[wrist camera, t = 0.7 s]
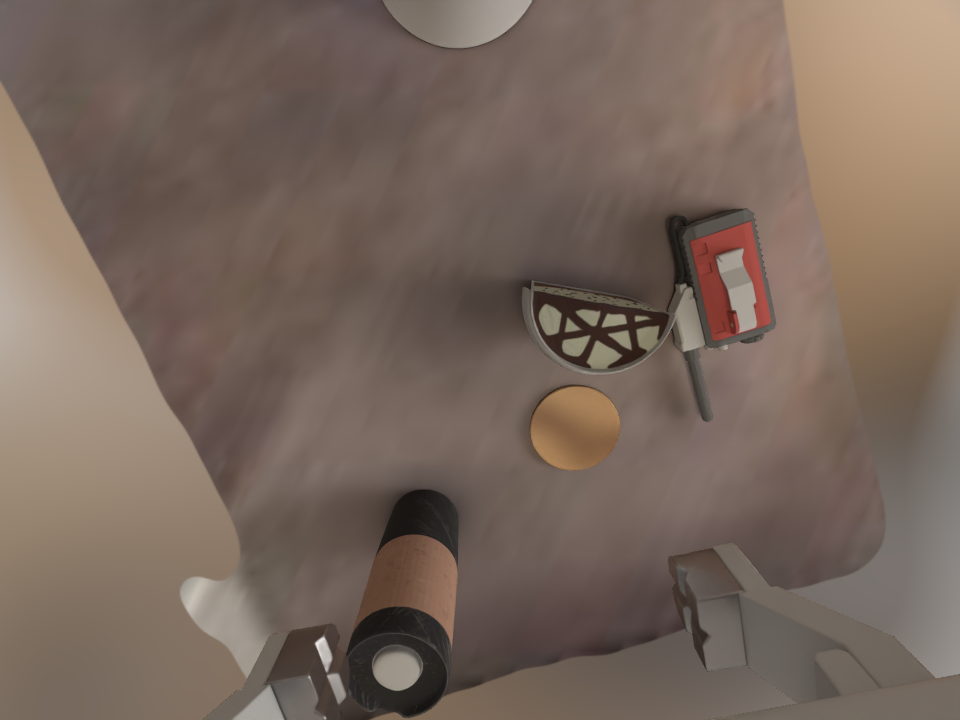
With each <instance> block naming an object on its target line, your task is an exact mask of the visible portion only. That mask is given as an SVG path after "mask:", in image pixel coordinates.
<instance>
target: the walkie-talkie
mask: <svg viewBox="0 0 960 720" xmlns="http://www.w3.org/2000/svg"><path fill="white" fill-rule="evenodd" d="M677 220H681V221H682V223H683V226H682V227H679V228H677V229H676V231H675V223H676V221H677ZM755 221H756V220H755V219H754V213H753V212H751V211H750V210H748V209H747V208H745V209H732V210H729V211H726V212H723V213H720V214H717V215H714V216H711V217H709V218H706V219H703V220H700V221H697V222H694V223H691V224H689V222H688V220H687V219H686V217H684V216H675V217H673V218H672V219H671V221H670V223H669V231H670V235H671V239H672V243H673V247H674V252H675V256H676V260H677V264H678V269H679V275H678V283H677V284H675V286H676V291H675V294H674V296H673V299H672V301H671V303H670V306H669V308H668V312H669V313H672V312H673V313H675V314H676V315H677V316H676V319H675V321H674V324H673V327H672V328H673V332H674V336H675V340H674V343H675V346H676V348H677V349H678V350H680V351H681V352H684V354H685V358H686V360H687V361H688V364H689V368H690V372H691V376H692V380H693V384H694V388H695V392H696V396H697V400H698V404H699V408H700V412H701V416H702V419H703V420H704V421H705V422H710V421H711V420H712V419H713V415H712V410H711V406H710V402H709V398H708V394H707V390H706V385H705V381H704V377H703V373H702V369H701V365H700V361H699V358H700V354H699V350H698V347H701V346H705V349H706V350H711V349H714V348H718V350H725V349H727V348H728V346H727V345H728V344H731V343H735V342H738V341H740V342H742V343H754V342H758V341H760V340H762V339H763V338H764V334H763V333H766V332H769V331H771V330H773V329H774V327H775V325H776V319H775V314H774V309H773V304H772V299H771V294H770V289H769V284H768V280H767V278H766V272H765V267H764V264H763V263H764V261H763V259H762V257H763V255H762V254H761V251H762V250H761V249H760V243H759V237H758V234H757V233H758V231H757V229H756V227H757V225H756V224H755Z"/></svg>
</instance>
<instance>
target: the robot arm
mask: <svg viewBox="0 0 960 720" xmlns="http://www.w3.org/2000/svg"><path fill="white" fill-rule="evenodd" d="M382 1H383V3H384V5H385V6H386V8H387V9H388V11H389V12H390V13H391V14H392V16H393V17H394V18H395V19H396V20H397V21H398V22H399V23H400V24H401V25H402V26H403V27H404V28H405V29H406V30H408V31H409V32H410V33H412V34H413V35H415V36H416V37H418V38H420V39H422V40H424V41H426V42H428V43H431V44H434V45H437V46H441V47H447V48H468V47H474V46H478V45H481V44H484V43H487V42H489V41H491V40H493V39H495V38H497V37H499V36H500V35H502V34H503V33H505V32H506V31H507V30H509V29H510V28H511V27H512V26H513V25H514V24H515V23H516V22H517V21H518V20H519V19H520V18H521V17H522V15H523V14H524V13H525V11H526V10H527V9H528V7H529V5H530V4H531V2H532V1H533V0H382ZM668 564H669V571H670V573H671V575H672V577H673V579H674V581H675V584H674V586H673V588H672V589H673V594H674V600H675V603H676V607H677V610H678V614H679V616H680V619H681V621H682V623H683V625H684V627H685V629H686V631H687V632H688V633H690V634H692V635H693V641H694V646H695V649H696V651H697V653H698V655H699V657H700V659H701V661H702V663H703V664H704V666H705V668H706V670H707V672H710V671H716V670H722V669H729V668H736V667H742V666H748V668H749V669H751V670H752V671H753V672H755V673H756V674H757V675H759V676H760V677H762V678H763V679H764V680H766V681H767V682H769V683H770V684H771V685H773V686H774V687H776V688H777V689H779V690H780V691H781V692H782V693H784V694H785V695H787V696H788V697H790V698H791V699H792V700H794V701H795V702H797V703H798V704H792V705H786V706H781V707H775V708H770V709H764V710H759V711H754V712H748V713H742V714H737V715H731V716H726V717H721V718H715V719H710V720H960V674H958V675H953V676H947V677H942V678H935V677H934V676H933V675H932V674H931V673H930V672H929V671H928V670H927V669H926V668H925V667H924V666H923V665H922V664H921V663H920V662H919V661H918V660H917V659H916V658H915V657H914V656H913V655H912V654H911V653H910V652H909V651H908V650H907V649H906V648H905V647H904V646H903V645H902V644H901V643H900V642H899V641H898V640H897V639H896V638H895V637H894V636H891V635H889V634H887V633H884V632H882V631H880V630H877V629H875V628H873V627H871V626H868V625H866V624H863V623H861V622H859V621H856V620H854V619H852V618H849V617H847V616H845V615H843V614H840V613H838V612H835V611H833V610H831V609H829V608H826V607H824V606H822V605H819V604H817V603H815V602H812V601H810V600H807V599H805V598H803V597H801V596H798V595H796V594H794V593H791V592H789V591H787V590H785V589H782V588H780V587H778V586H776V587H770V586H769V585H768V584H767V582H766V581H765V580H764V579H763V578H762V576H761V575H760V574H759V573H758V571H757V570H756V569H755V568H754V566H753V565H752V564H751V563H750V562H749V560H748V559H747V558H746V557H745V555H744V554H743V553H742V552H741V551H740V549H739V548H738V547H737V546H736V544H734V543H728V544H723V545H719V546H714V547H711V548H709V549H704V550H699V551H694V552H689V553H684V554H679V555H674V556H670V557H668ZM339 638H340V635H339V633H338V630H337V628H336V626H335V625H333V624H325V625H319V626H314V627H308V628H302V629H296V630H293V631H286V632H281V633H276V634H273V635H272V636H270V637H269V638H268V640H267V642H266V644H265V646H264V648H263V650H262V652H261V654H260V655H259V657H258V659H257V661H256V663H255V665H254V667H253V669H252V671H251V673H250V675H249V677H248V679H247V681H246V683H245V685H244V687H243V688H242V690H238V691H235V692H234V693H233V694H232V695H231V696H229V697H228V698H227V699H226V700H225V701H224V702H222V703H221V704H220V705H219V706H218V707H217V708H216V709H214V710H213V711H212V712H211V713H210V714H209V715H207V716H206V717H205V718H204V719H203V720H340V717H341V711H340V708H339V704H340V703H341V702H342V701H343V700H344V698H345V697H346V696H347V693H348V689H349V685H350V667H349V661H348V658H347V655H346V652H345V651H343V650H342V649H341V648H339V647H338V646H337V644H338V641H339Z"/></svg>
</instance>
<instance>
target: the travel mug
mask: <svg viewBox="0 0 960 720" xmlns="http://www.w3.org/2000/svg"><path fill="white" fill-rule="evenodd" d="M457 573H458V515H457V512H456V509H455V507H454V506H453V504H452V503H451V501H450V500H449V499H447V498H446V497H445V496H444V495H442V494H440V493H438V492H435V491H431V490H418V491H413V492H411V493H409V494H407V495H405V496H404V497H402V498H401V499H400V500H399V501H398V502H397V504H396V505H395V507H394V509H393V511H392V514H391V516H390V519H389V521H388V524H387V527H386V530H385V532H384V535H383V538H382V540H381V543H380V546H379V549H378V551H377V554H376V557H375V560H374V563H373V566H372V570H371V573H370V576H369V580H368V583H367V586H366V590H365V593H364V596H363V600H362V603H361V606H360V610H359V613H358V616H357V620H356V623H355V626H354V630H353V633H352V636H351V640H350V643H349V646H348V650H347V653H346V655H347V658H348V661H349V667H350V685H349V689H348V694H349V695H350V697H351V698H352V699H353V700H354V701H355V702H356V704H358V705H359V706H360V707H361V708H363V709H364V710H366V711H368V712H373V711H375V710H387V711H392V712H396V713H398V714H400V715H401V716H402V717H403V718H411V717H415V716H418V715H421V714H423V713H425V712H427V711H428V710H430V709H431V708H432V707H434V706H435V705H436V704H437V703H438V702H439V701H440V700H441V698H442V697H443V695H444V693H445V691H446V689H447V686H448V682H449V676H450V664H451V651H452V638H453V626H454V613H455V600H456V588H457Z"/></svg>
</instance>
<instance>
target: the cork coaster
mask: <svg viewBox="0 0 960 720" xmlns="http://www.w3.org/2000/svg"><path fill="white" fill-rule="evenodd" d="M619 432H620V421H619V416H618V413H617V411H616V408H615V407H614V405H613V404H612V402H611V401H610V400H609V399H608V398H607V397H606V396H605V395H604V394H603V393H601V392H600V391H598V390H596V389H593V388H591V387H587V386H581V385H572V386H566V387H562V388H559V389H557V390H555V391H553V392H551V393H550V394H548V395H547V396H546V397H544V398H543V399H542V400H541V401H540V403H539V404H538V405H537V407H536V409H535V410H534V413H533V415H532V418H531V423H530V435H531V439H532V443H533V445H534V448H535V449H536V451H537V453H538V454H539V455H540V456H541V457H542V458H543V459H544V460H545V461H546V462H548V463H549V464H551V465H553V466H555V467H558V468H561V469H565V470H581V469H586V468H589V467H592V466H594V465H596V464H598V463H599V462H601V461H602V460H604V459H605V458H606V457H607V456H608V455H609V454H610V452H611V451H612V450H613V448H614V447H615V445H616V442H617V440H618V437H619Z"/></svg>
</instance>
